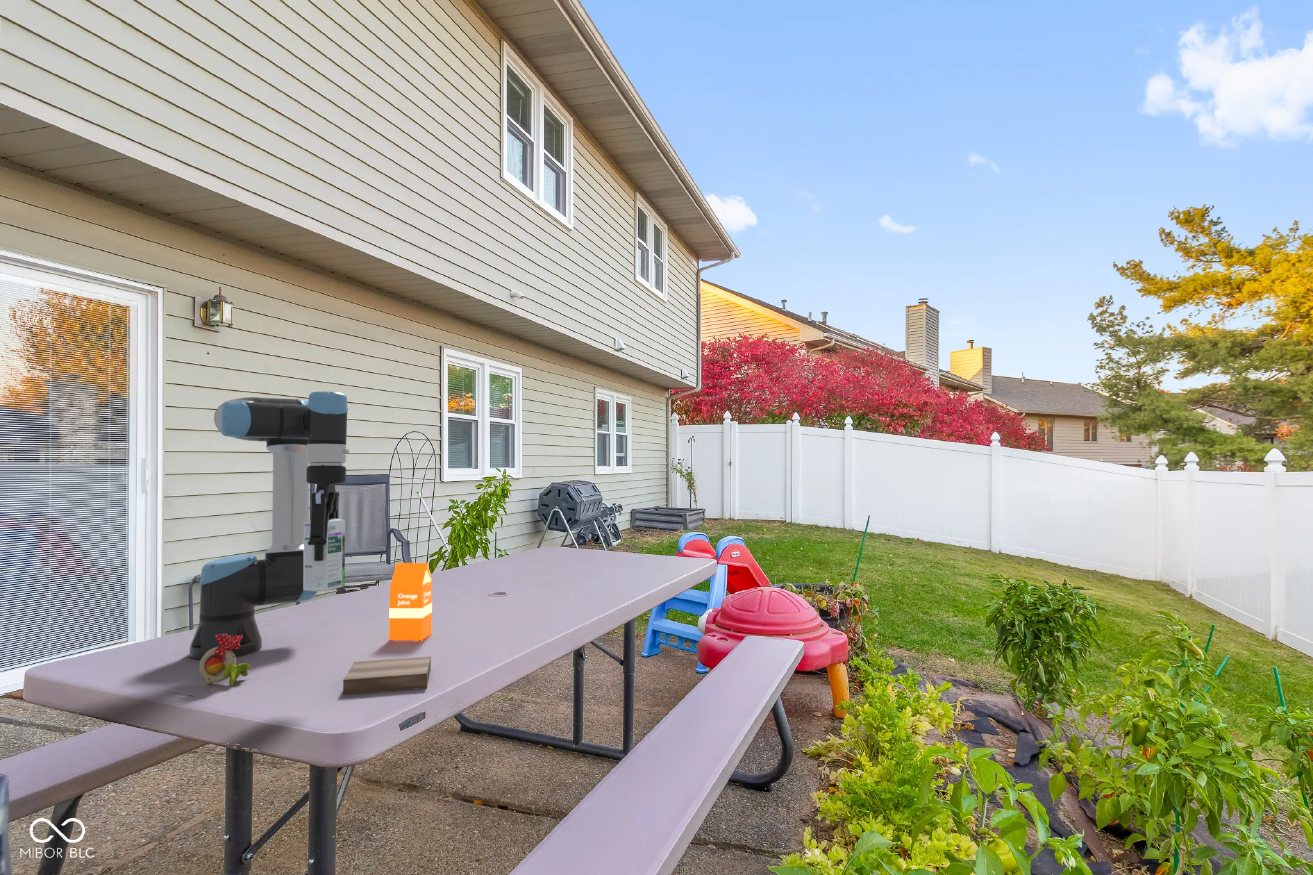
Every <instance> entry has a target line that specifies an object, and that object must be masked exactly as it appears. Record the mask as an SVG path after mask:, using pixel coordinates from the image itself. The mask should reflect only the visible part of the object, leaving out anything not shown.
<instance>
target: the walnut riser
mask: <svg viewBox="0 0 1313 875" xmlns="http://www.w3.org/2000/svg"><path fill="white" fill-rule="evenodd" d="M431 662H432V657H431V656H420V657H405V658H403V657H402V658H393V659H392V658H391V659H389V658H388V659H379V660H375V659H374V660H364V661H354V662H352V665H351V667H350V668H349V670H348V672H347V673H346V674H345V677H344V678H343V680H342V682H343V684H342V695H343V696H346V695H347V696H348V695H358V694H359V695H360V694H361V695H362V694H368V693H369V694H370V693H371V694H373V693H380V692H381V693H384V692H394V691H395V692H396V691H407V690H416V689H415V688H421V689H427V688H428V684H429V680H430V674H431V670H432V669H431V665H432V663H431Z"/></svg>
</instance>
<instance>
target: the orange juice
mask: <svg viewBox="0 0 1313 875" xmlns="http://www.w3.org/2000/svg"><path fill="white" fill-rule="evenodd" d="M388 611H389V613H388V614H389V616H388V618H389V620H388V624H389V625H388V641H389V640H414V641H413V642H422V641H424V640H425V639H427V636H428V637H429V636H431V635H432V624H433V623H432V621H433V620H432V616H433V613H432V612H433V579H432V576H431V571H430V568H429V563H428V562H396V563H395V567H394V570H393V575H392V578H391V582H390V584H389V608H388ZM424 638H425V639H424ZM423 639H424V640H423ZM419 640H421V641H419Z"/></svg>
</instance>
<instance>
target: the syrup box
mask: <svg viewBox="0 0 1313 875" xmlns="http://www.w3.org/2000/svg"><path fill="white" fill-rule="evenodd" d="M310 528H311V520H309V521H305V522H304V544H303V546H304V548H303V590H306V591H318V592H328V591H331V590H336V589H340V588H344V587H345V586H346V567H345V566H346V519H343V518H339V519H329V521H328V531H327V543H326V544H328V562H327V577H312V548H313V545H308V541H310V540H309V539H310Z"/></svg>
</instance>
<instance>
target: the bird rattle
mask: <svg viewBox="0 0 1313 875" xmlns="http://www.w3.org/2000/svg"><path fill="white" fill-rule="evenodd" d="M242 637H243V635H238V636H228V635H227V634H225V633H223V634H217V635H216V636H215V639H216V640H217V642H218V643H219V645H220V646H219V647H215V648H212V649H210V650H209V651H207V652H206V653H205V654H204V656H203V657H202V659H200V660H199V672H200V674H201V676H202V678H203V679H204V680H205V683H206V685H208V686H210V685H212V684H215V683H221V682H224V681H225V680H228V678H229V680H228V685H229V686H231V687H232V686H234V683H235V681H236V680H238V678H239V677H240V675H241V676H243V677H247V676H249V672H248V670H249V669H250V667H251V666H250V664H249V663H245V662H243V663H239V664H237V657H235V655H234V653H233V652H232V648H233V649H239V648H240V644H239V642H240V640H241V639H242ZM214 655H218V656H215V657H213V656H214Z"/></svg>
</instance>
